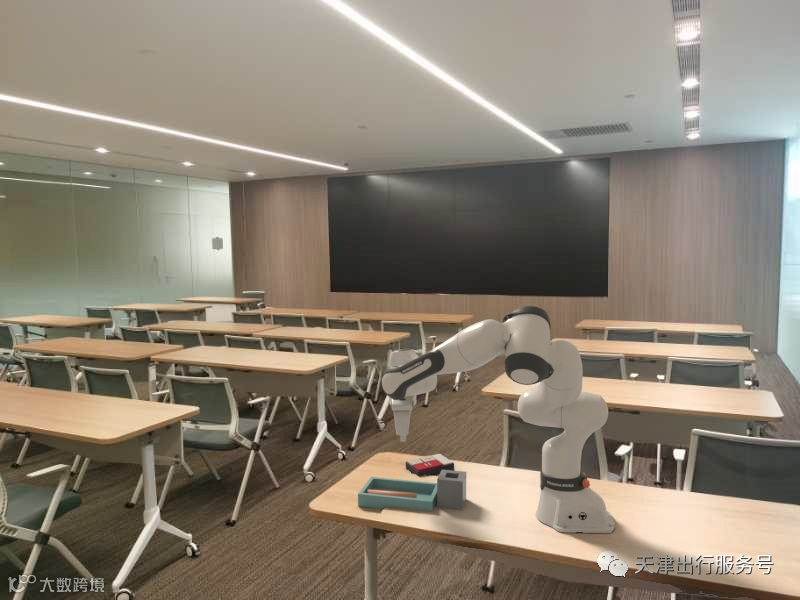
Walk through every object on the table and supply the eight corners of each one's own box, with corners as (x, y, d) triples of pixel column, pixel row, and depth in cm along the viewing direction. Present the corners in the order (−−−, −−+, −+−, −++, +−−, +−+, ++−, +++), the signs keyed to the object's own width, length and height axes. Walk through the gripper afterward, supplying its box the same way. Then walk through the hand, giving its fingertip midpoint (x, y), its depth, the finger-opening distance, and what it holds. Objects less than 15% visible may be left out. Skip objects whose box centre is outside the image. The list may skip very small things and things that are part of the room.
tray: (440, 495, 183) (440, 483, 182) (432, 514, 169) (432, 501, 169) (371, 488, 189) (371, 476, 188) (358, 506, 175) (357, 493, 175)
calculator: (404, 459, 206) (440, 451, 212) (405, 470, 206) (440, 462, 212) (417, 470, 196) (454, 461, 202) (418, 481, 196) (455, 472, 202)
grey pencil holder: (466, 501, 178) (466, 471, 177) (462, 513, 170) (462, 481, 169) (441, 499, 180) (441, 469, 179) (437, 510, 172) (437, 479, 171)
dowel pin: (416, 491, 176) (367, 487, 180) (415, 498, 175) (366, 494, 178) (416, 496, 178) (369, 492, 181) (415, 502, 176) (367, 498, 179)
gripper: (394, 390, 187) (394, 430, 188) (391, 406, 167) (391, 451, 168) (412, 390, 187) (413, 430, 188) (412, 406, 166) (412, 451, 168)
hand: (403, 440), depth 178 cm, fingers closed
